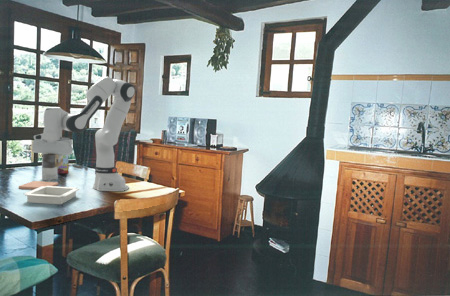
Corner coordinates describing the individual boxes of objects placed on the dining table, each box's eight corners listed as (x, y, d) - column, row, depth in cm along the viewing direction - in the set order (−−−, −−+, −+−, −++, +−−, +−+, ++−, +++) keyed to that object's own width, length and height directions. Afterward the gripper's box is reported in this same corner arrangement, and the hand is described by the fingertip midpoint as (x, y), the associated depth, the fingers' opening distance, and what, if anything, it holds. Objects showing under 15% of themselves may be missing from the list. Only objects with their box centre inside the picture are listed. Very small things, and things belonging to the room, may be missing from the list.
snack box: (53, 168, 260) (54, 137, 257) (65, 168, 264) (66, 137, 262) (56, 173, 241) (56, 140, 239) (68, 173, 246) (69, 140, 244)
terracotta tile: (58, 184, 209) (58, 182, 209) (45, 190, 193) (45, 187, 193) (33, 183, 208) (33, 180, 208) (18, 188, 192) (18, 186, 192)
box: (62, 164, 181) (63, 152, 181) (52, 168, 169) (52, 155, 169) (54, 164, 181) (54, 152, 181) (42, 167, 169) (42, 154, 169)
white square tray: (80, 195, 187) (80, 187, 187) (63, 205, 166) (63, 197, 166) (43, 193, 187) (43, 185, 186) (21, 203, 165) (21, 194, 165)
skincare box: (53, 177, 228) (54, 156, 226) (57, 179, 223) (58, 157, 222) (41, 179, 221) (41, 156, 220) (45, 180, 217) (45, 158, 215)
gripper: (74, 137, 176) (74, 162, 178) (37, 135, 175) (36, 159, 177) (69, 138, 170) (68, 163, 171) (30, 135, 169) (30, 161, 171)
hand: (52, 161), depth 174 cm, fingers closed on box, 5 cm apart
